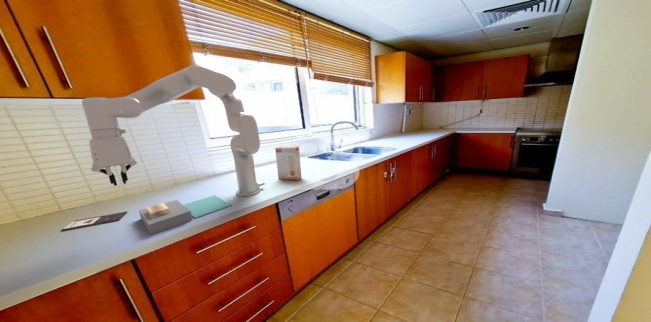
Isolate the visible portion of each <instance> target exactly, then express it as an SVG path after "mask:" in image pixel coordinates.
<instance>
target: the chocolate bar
mask: <svg viewBox="0 0 651 322" xmlns="http://www.w3.org/2000/svg"><path fill="white" fill-rule="evenodd" d="M127 213H128V211H123V212H115V213H111V214H106V215H101V216H94V217H88V218H81V219H76V220H74V221H72V222H71V223H69V224H68V225H66V226H65V227H63V228H62V229H61V230H60V232H61V231H62V232H66V231H72V230H77V229H78V230H79V229H82V228H87V227H93V226H99V225H103V224H109V223H114V222H119V221H121V220H122V218H123V217H125V215H127Z"/></svg>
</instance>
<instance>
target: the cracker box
mask: <svg viewBox="0 0 651 322" xmlns="http://www.w3.org/2000/svg"><path fill="white" fill-rule="evenodd" d="M274 149H275V159H276V168H277V179H278V180H282V181H283V180H284V181H285V180H288V181H299V180H300V179H302V168H301V156H300V146H297V145H295V146H293V145H282V146H281V145H279V146H276V147H275V148H274Z"/></svg>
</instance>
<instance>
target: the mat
mask: <svg viewBox="0 0 651 322" xmlns="http://www.w3.org/2000/svg"><path fill="white" fill-rule="evenodd" d="M183 205H184V206H185V207H186V208H188V209H189V210H190V211H191V215H192V218H193V217H194V218H193V219H198V218H201V217H205V216H207V215H210V214H213V213H216V212H218V210H219V211H221V210H224V209H227V208H229V207H232V206H233V205H232V204H231V203H230V202H228V201H226V200H224V199H222V198H220V197H218V196H216V195H212V196H207V197H204V198H201V199H198V200H194V201H191V202H188V203H185V204H183ZM215 211H216V212H215Z"/></svg>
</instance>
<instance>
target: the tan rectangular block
mask: <svg viewBox="0 0 651 322" xmlns="http://www.w3.org/2000/svg"><path fill="white" fill-rule="evenodd" d="M145 209H147V212H148V214H149V215H150V216H151V218H155V217H158V216H161V215H164V214H168V213H170V210H169V208H168V207H167V206H166V205H165V204H164V202H162V203H158V204H154V205H151V206H147V207H145Z"/></svg>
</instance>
